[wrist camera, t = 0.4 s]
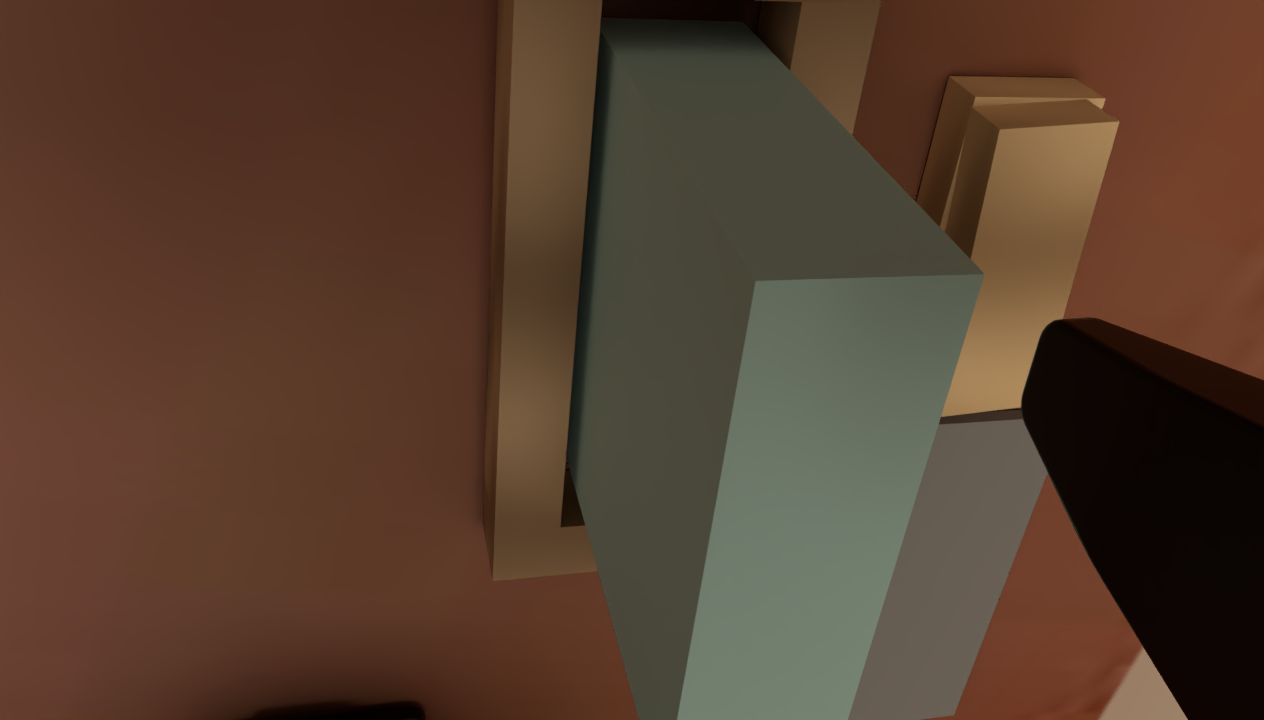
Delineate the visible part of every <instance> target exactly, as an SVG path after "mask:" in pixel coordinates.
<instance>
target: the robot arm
mask: <svg viewBox="0 0 1264 720" xmlns="http://www.w3.org/2000/svg"><path fill="white" fill-rule="evenodd" d="M1021 412H1022V417H1023V421H1024V424H1025V426H1026V428H1027V431H1028V433H1029V435H1030V437H1031V439H1032V441H1033V443H1034V445H1035V447H1036V449H1037V451H1038V453H1039V456H1040V458H1041V460H1042V462H1043V464H1044V466H1045V468H1046V470H1047V472H1048V474H1049V476H1050V479H1051V481H1052V483H1053V485H1054V487H1055V489H1056V491H1057V493H1058V495H1059V497H1060V499H1061V501H1062V504H1063V506H1064V508H1065V510H1066V512H1067V514H1068V516H1069V518H1070V520H1071V522H1072V524H1073V527H1074V529H1075V531H1076V533H1077V535H1078V537H1079V539H1080V541H1081V543H1082V545H1083V547H1084V549H1085V551H1086V552H1087V554H1088V556H1089V558H1090V560H1091V562H1092V563H1093V565H1094V567H1095V569H1096V570H1097V572H1098V574H1099V576H1100V577H1101V579H1102V581H1103V582H1104V584H1105V586H1106V587H1107V589H1108V590H1109V592H1110V594H1111V595H1112V597H1113V599H1114V600H1115V602H1116V603H1117V605H1118V607H1119V608H1120V610H1121V612H1122V613H1123V615H1124V616H1125V618H1126V620H1127V621H1128V623H1129V625H1130V626H1131V628H1132V629H1133V631H1134V633H1135V634H1136V636H1137V638H1138V639H1139V641H1140V643H1141V644H1142V646H1143V647H1144V649H1145V651H1146V652H1147V654H1148V655H1149V657H1150V659H1151V660H1152V662H1153V664H1154V665H1155V667H1156V669H1157V670H1158V672H1159V673H1160V675H1161V676H1162V678H1163V680H1164V682H1165V683H1166V685H1167V686H1168V688H1169V690H1170V691H1171V693H1172V694H1173V696H1174V698H1175V699H1176V701H1177V702H1178V704H1179V706H1180V707H1181V709H1182V711H1183V712H1184V714H1185V716H1186V717H1187V719H1188V720H1264V380H1261V379H1259V378H1256V377H1253V376H1251V375H1248V374H1245V373H1243V372H1240V371H1237V370H1235V369H1232V368H1229V367H1227V366H1224V365H1221V364H1219V363H1216V362H1213V361H1210V360H1208V359H1205V358H1202V357H1200V356H1197V355H1194V354H1192V353H1189V352H1186V351H1184V350H1181V349H1178V348H1176V347H1173V346H1170V345H1168V344H1165V343H1162V342H1159V341H1157V340H1154V339H1151V338H1149V337H1146V336H1143V335H1141V334H1138V333H1135V332H1133V331H1130V330H1127V329H1125V328H1122V327H1119V326H1117V325H1114V324H1111V323H1108V322H1106V321H1103V320H1100V319H1097V318H1089V317H1086V318H1071V319H1059V320H1054V321H1052V322H1051V323H1049V324H1048V325H1047V326H1046V327H1045V328H1044V330H1043V331H1042V333H1041V335H1040V338H1039V341H1038V344H1037V348H1036V351H1035V354H1034V357H1033V361H1032V364H1031V367H1030V370H1029V374H1028V377H1027V380H1026V383H1025V387H1024V390H1023V393H1022V398H1021ZM293 720H426V716H425V713H424V711H423V710H421V709H420V708H417V707H412V706H406V707H398V708H389V709H380V710H372V711H363V712H354V713H346V714H337V715H328V716H319V717H311V718H302V719H293Z"/></svg>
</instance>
